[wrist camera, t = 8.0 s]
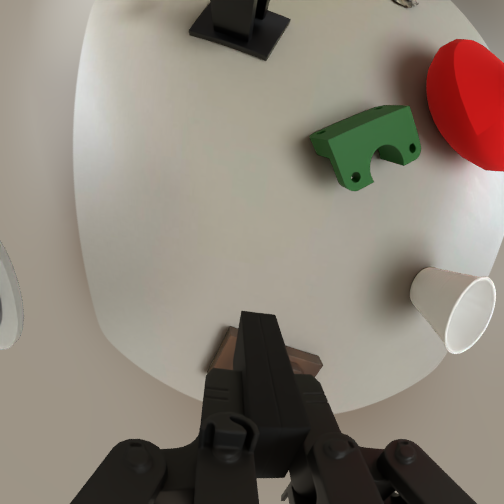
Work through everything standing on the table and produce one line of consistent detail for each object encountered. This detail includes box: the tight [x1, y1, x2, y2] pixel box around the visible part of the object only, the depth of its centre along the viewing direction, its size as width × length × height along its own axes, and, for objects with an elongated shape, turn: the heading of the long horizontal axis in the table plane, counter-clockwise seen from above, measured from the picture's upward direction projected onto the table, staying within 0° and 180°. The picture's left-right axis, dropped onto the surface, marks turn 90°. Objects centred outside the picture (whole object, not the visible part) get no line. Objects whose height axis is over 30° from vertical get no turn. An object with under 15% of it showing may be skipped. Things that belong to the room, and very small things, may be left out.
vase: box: [426, 39, 504, 171], centre depth 19 cm, size 18×18×19 cm
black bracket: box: [189, 0, 290, 61], centre depth 19 cm, size 10×7×12 cm
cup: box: [410, 267, 496, 354], centre depth 28 cm, size 10×10×11 cm
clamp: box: [309, 105, 421, 191], centre depth 26 cm, size 12×6×9 cm, turn 113°
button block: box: [207, 326, 323, 378], centre depth 33 cm, size 13×8×4 cm, turn 65°
